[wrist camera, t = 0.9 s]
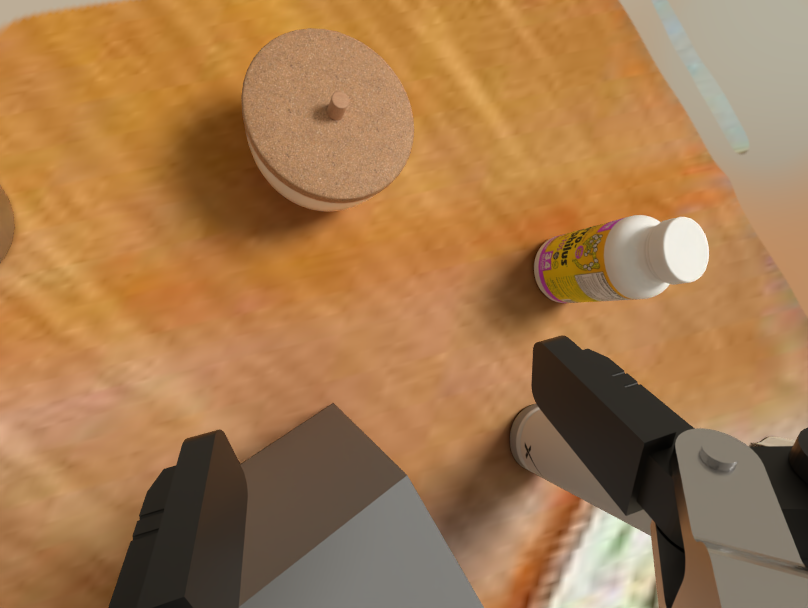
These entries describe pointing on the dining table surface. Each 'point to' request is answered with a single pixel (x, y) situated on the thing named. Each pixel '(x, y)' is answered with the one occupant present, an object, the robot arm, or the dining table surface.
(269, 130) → the lidded jar
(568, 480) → the travel mug
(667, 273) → the supplement bottle
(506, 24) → the dining table surface
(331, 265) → the dining table surface
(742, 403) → the dining table surface
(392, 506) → the console
